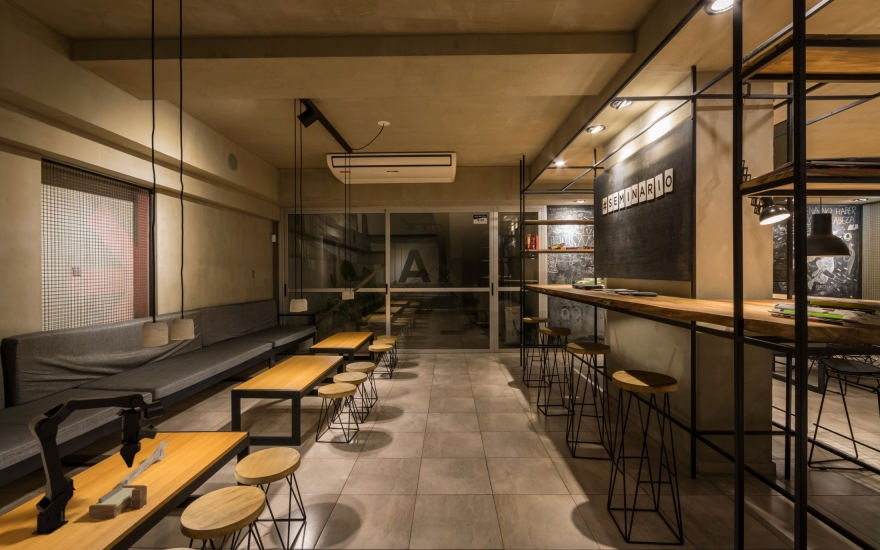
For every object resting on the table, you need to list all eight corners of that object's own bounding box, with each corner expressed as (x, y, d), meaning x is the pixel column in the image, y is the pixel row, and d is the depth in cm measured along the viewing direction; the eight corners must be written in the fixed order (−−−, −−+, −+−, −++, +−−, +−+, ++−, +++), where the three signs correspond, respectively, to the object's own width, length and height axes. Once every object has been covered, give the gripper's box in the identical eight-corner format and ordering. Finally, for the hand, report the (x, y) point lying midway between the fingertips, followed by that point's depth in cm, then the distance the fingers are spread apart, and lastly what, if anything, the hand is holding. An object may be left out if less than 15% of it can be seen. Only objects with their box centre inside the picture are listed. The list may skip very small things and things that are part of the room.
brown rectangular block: (140, 509, 139) (140, 490, 140) (131, 509, 139) (131, 490, 140) (146, 504, 143) (146, 485, 143) (138, 504, 143) (138, 485, 143)
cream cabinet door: (116, 506, 135) (116, 500, 135) (93, 507, 135) (93, 500, 135) (141, 489, 147) (141, 483, 147) (119, 489, 147) (119, 484, 147)
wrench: (119, 495, 154) (165, 454, 184) (124, 494, 154) (169, 453, 184) (117, 476, 154) (164, 438, 183) (122, 476, 154) (168, 438, 183)
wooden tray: (113, 518, 134) (114, 506, 134) (88, 518, 134) (89, 506, 134) (144, 496, 148) (144, 485, 148) (121, 496, 148) (121, 485, 148)
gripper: (157, 426, 147) (156, 465, 146) (155, 413, 161) (154, 449, 161) (120, 432, 140) (119, 474, 139) (122, 419, 154) (121, 457, 154)
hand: (130, 463), depth 149 cm, fingers open, 9 cm apart
